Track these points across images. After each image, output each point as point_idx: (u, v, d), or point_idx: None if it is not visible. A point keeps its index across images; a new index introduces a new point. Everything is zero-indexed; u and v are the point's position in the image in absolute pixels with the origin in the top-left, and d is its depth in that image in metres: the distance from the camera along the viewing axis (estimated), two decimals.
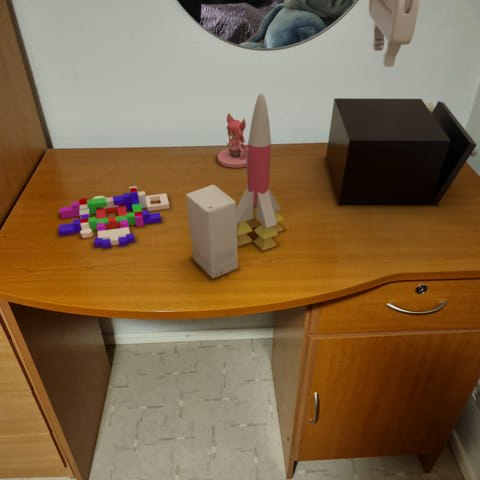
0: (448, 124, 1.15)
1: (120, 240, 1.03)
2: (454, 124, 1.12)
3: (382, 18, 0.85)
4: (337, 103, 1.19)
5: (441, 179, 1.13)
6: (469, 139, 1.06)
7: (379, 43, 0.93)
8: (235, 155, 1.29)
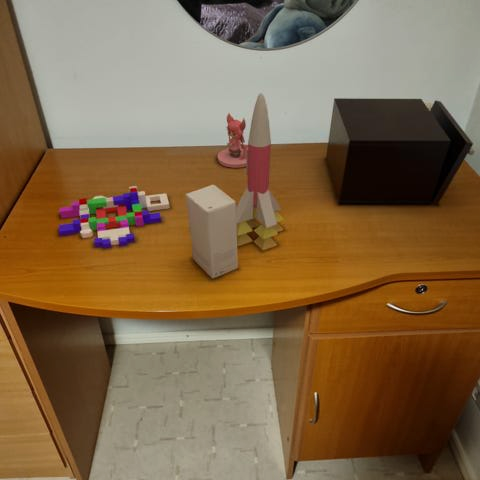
0: (444, 123, 1.15)
1: (120, 240, 1.03)
2: (451, 123, 1.12)
3: None
4: (337, 103, 1.19)
5: (440, 179, 1.13)
6: (465, 138, 1.06)
7: None
8: (235, 155, 1.29)
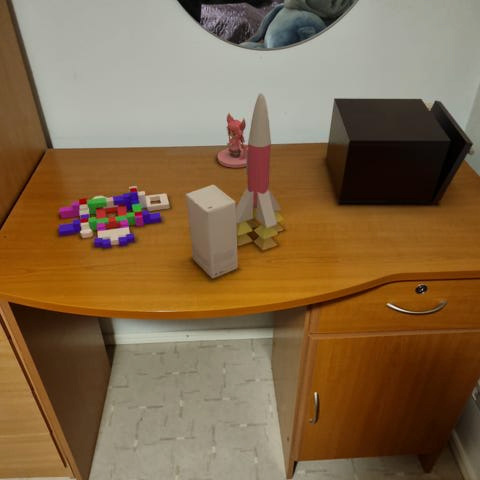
0: (444, 123, 1.15)
1: (120, 240, 1.03)
2: (451, 123, 1.12)
3: None
4: (337, 103, 1.19)
5: (440, 179, 1.13)
6: (465, 138, 1.06)
7: None
8: (235, 155, 1.29)
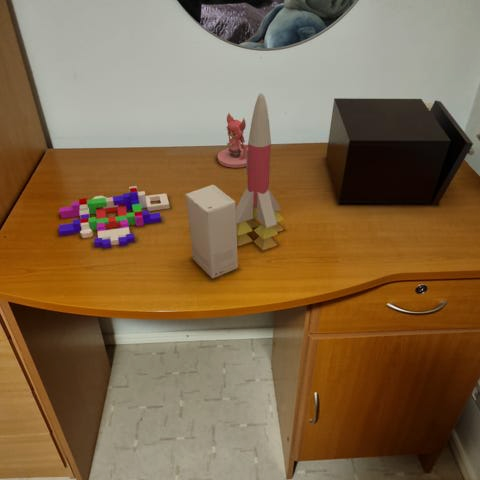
0: (444, 123, 1.15)
1: (120, 240, 1.03)
2: (451, 123, 1.12)
3: None
4: (337, 103, 1.19)
5: (440, 179, 1.13)
6: (465, 138, 1.06)
7: None
8: (235, 155, 1.29)
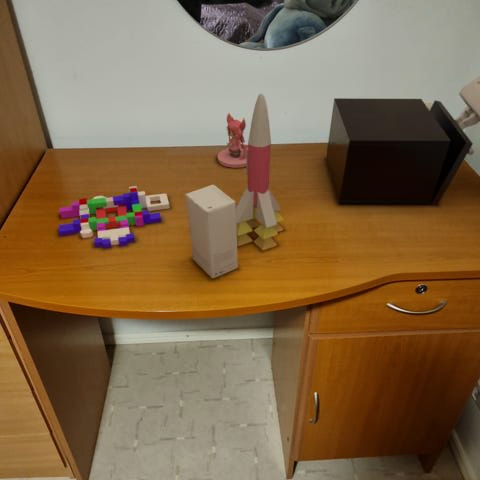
0: (444, 123, 1.15)
1: (120, 240, 1.03)
2: (450, 123, 1.12)
3: None
4: (337, 103, 1.19)
5: (440, 179, 1.13)
6: (465, 138, 1.06)
7: None
8: (235, 155, 1.29)
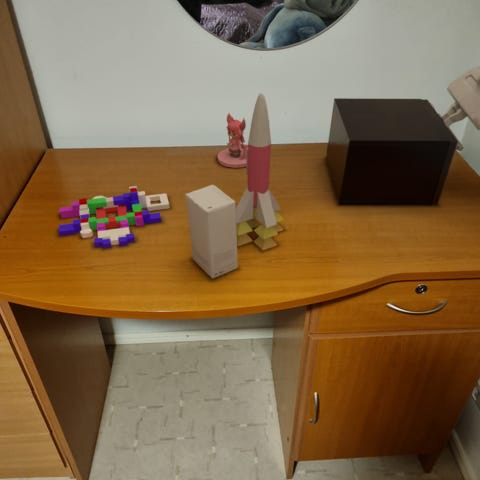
0: None
1: (120, 240, 1.03)
2: None
3: None
4: (337, 103, 1.19)
5: None
6: (450, 137, 1.06)
7: None
8: (235, 155, 1.29)
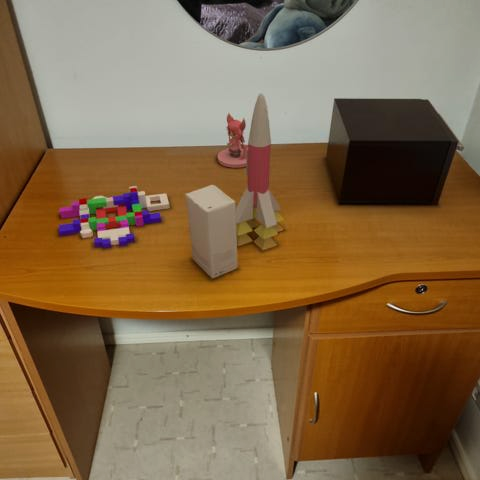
0: None
1: (120, 240, 1.03)
2: None
3: None
4: (337, 103, 1.19)
5: None
6: (450, 137, 1.06)
7: None
8: (235, 155, 1.29)
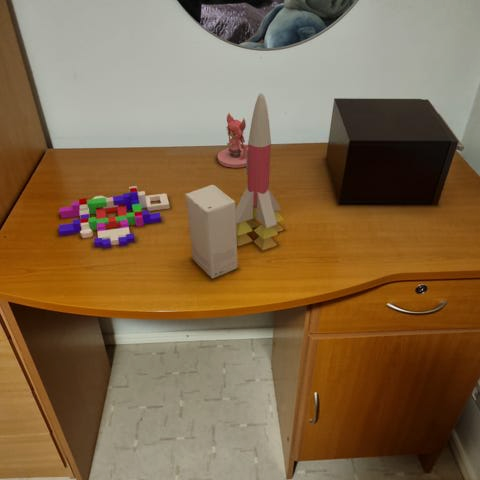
0: None
1: (120, 240, 1.03)
2: None
3: None
4: (337, 103, 1.19)
5: None
6: (450, 137, 1.06)
7: None
8: (235, 155, 1.29)
